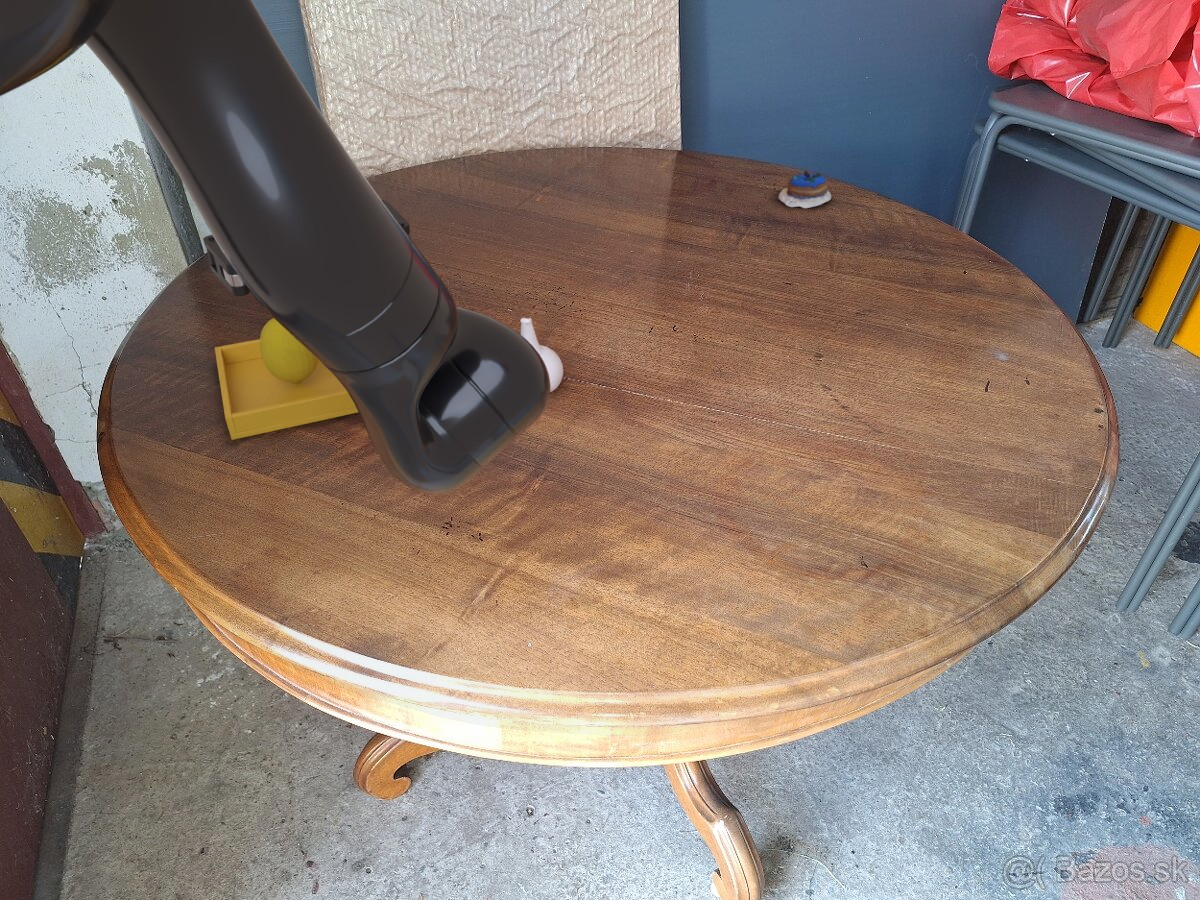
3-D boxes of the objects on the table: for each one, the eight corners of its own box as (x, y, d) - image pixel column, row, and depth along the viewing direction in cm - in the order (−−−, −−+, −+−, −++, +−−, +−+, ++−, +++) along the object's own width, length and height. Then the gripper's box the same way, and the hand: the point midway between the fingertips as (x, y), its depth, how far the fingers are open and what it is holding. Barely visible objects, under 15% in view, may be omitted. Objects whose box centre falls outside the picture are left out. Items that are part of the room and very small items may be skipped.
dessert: (818, 182, 139) (829, 158, 133) (830, 218, 137) (842, 197, 131) (769, 189, 138) (779, 166, 132) (780, 226, 136) (791, 205, 130)
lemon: (308, 363, 96) (293, 296, 91) (334, 384, 93) (320, 315, 88) (260, 381, 93) (242, 313, 88) (285, 404, 90) (267, 334, 85)
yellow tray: (231, 440, 86) (225, 418, 84) (220, 368, 96) (214, 347, 95) (379, 408, 90) (375, 386, 89) (353, 342, 101) (349, 322, 99)
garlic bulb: (573, 377, 95) (572, 310, 90) (545, 407, 91) (542, 338, 86) (522, 363, 97) (518, 297, 93) (492, 392, 93) (486, 324, 88)
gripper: (444, 218, 62) (359, 151, 73) (237, 264, 56) (177, 183, 67) (453, 314, 67) (372, 237, 78) (262, 366, 61) (203, 275, 71)
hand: (282, 212), depth 72 cm, fingers open, 8 cm apart
